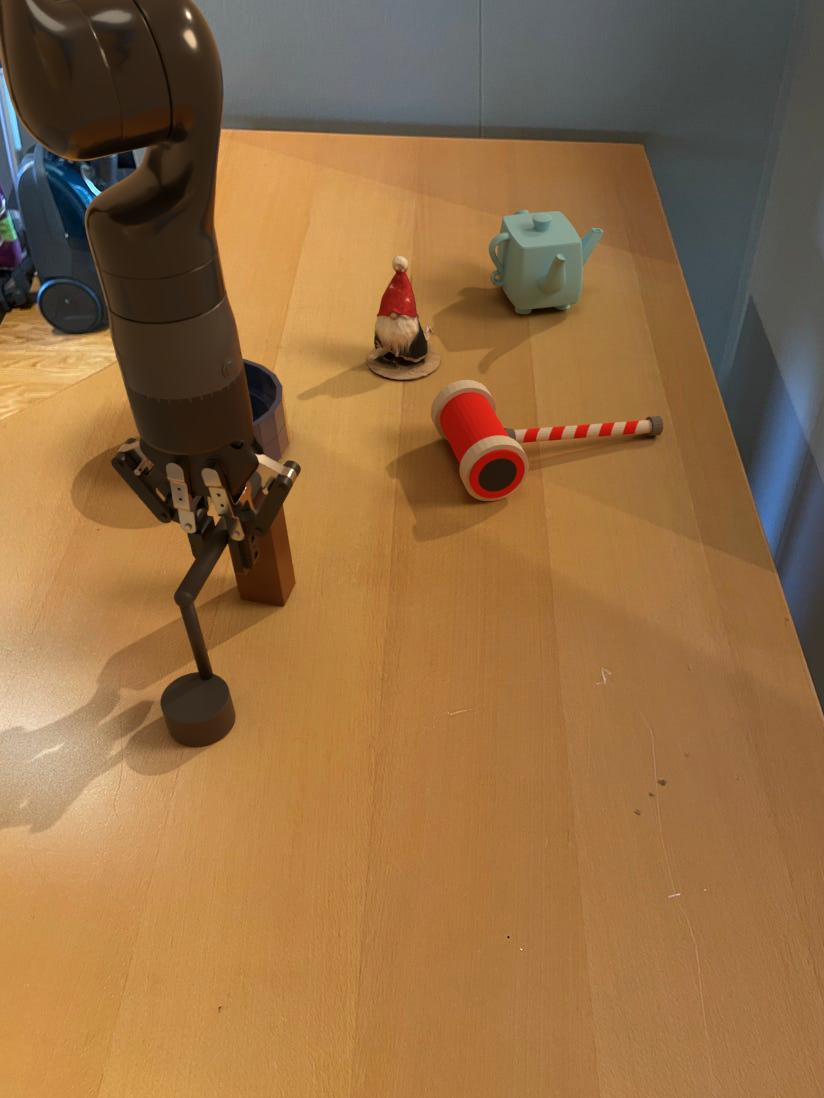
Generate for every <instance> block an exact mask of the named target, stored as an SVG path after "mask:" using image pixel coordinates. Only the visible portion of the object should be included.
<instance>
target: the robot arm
mask: <svg viewBox="0 0 824 1098" xmlns="http://www.w3.org/2000/svg"><path fill="white" fill-rule="evenodd" d="M0 63H1V69H2V73H3V79H4V83H5V87H6V89H7V93H8V96H9V100H10V103H11V105H12V108H13V110H14V113H15V114H16V116H17V119H18V120H19V122H20V124H21V125H22V126H23V128H24V129H25V131H26V132H27V133H28V134H29V135H30V136H31V137H32V138H33V140H35V142H37V144H39V145H40V146H41V147H43V148H44V149H46V150H47V151H48V152H50V153H52V154H53V155H55V156H56V157H59V158H61V159H64V160H67V161H71V162H88V161H94V160H99V159H102V158H107V157H111V156H115V155H120V154H123V153H127V152H128V153H129V152H132V151H135V150H141V149H145V151H144V154H143V158H142V161H141V163H140V164H139V166H138V167H137V168H135V170H134V171H133V172H132V173H130V174H129V175H128V176H126V177H125V178H123V179H122V180H120V181H118V182H116V183H115V184H113V185H111V186H109V187H107V188H106V189H104V190H103V191H102V192H100V193H99V194H97V195H96V196H95V197H94V198H93V199H92V200H91V201H90V202H89V204H88V206H87V208H86V210H85V214H84V227H85V233H86V238H87V242H88V246H89V249H90V252H91V256H92V260H93V263H94V266H95V270H96V274H97V277H98V281H99V284H100V289H101V291H102V296H103V298H104V302H105V305H106V311H107V316H108V326H109V332H110V338H111V341H112V343H111V344H112V346H113V350H114V354H115V358H116V361H117V364H118V367H119V371H120V374H121V378H122V381H123V386H124V388H125V392H126V396H127V400H128V403H129V408H130V407H131V408H130V411H131V410H132V411H131V415H132V414H133V415H132V418H133V417H134V418H133V422H134V421H135V422H134V425H135V424H136V426H135V429H136V428H137V429H136V432H137V431H138V432H137V434H138V433H139V435H140V436H141V437H140V439H137V438H134V437H129V438H127V439H126V441H124V443H123V444H122V445H121V446H120V447H119V449H118V450H117V451H116V453H115V455H114V456H113V457H112V459H111V460H110V464H111V467H112V468H113V469H114V470H115V471H116V473H117V474H118V475H119V476H120V477H121V478H122V480H123V481H124V482H125V483H126V484H127V485H128V486H129V488H130V489H131V490H132V491H133V492H134V493H135V495H136V496H137V497H138V498H139V500H141V502H142V503H143V504H144V505H145V506H146V507H147V509H148V510H149V511H150V512H151V514H152V515H153V516H154V517H155V518H156V519H157V520H158V521H159V522H161V523H163V524H170V523H171V522H175V523H177V524H179V526H180V528H181V529H182V530H183V531H184V532H185V533H186V536H187V539H188V543H189V546H190V549H191V553H192V557H193V558H194V560H195V559H196V557H197V556H198V554H199V552H200V551H201V549H202V547H203V546H204V544H205V542H206V541H207V539H208V537H209V536H210V534H211V532H212V531H213V529H214V528H215V526H216V522H215V518H214V516H213V515H209V514H208V512H209V510H210V505H209V498H211V500H212V502H213V506H214V509H215V511H216V515H217V516H218V517H221V516H222V517H223V520H224V522H225V525H226V528H227V531H228V534H229V536H230V537H229V538H228V542H229V546H230V551H231V555H232V559H233V564H234V568H235V572H236V574H242V575H247V573H248V571H249V569H252V568H253V566H254V565H255V563H256V561H257V559H258V557H259V554H260V550H259V545H258V540H257V537H260V538H262V537H265V536H266V534H267V533H268V531H269V529H270V527H271V525H272V523H273V522H274V520H275V518H276V516H277V514H278V512H279V510H280V509H281V507H282V505H283V506H284V503H285V501H286V499H287V497H288V495H289V494H290V492H291V490H292V488H293V486H294V484H295V483H296V481H297V479H298V477H299V475H300V474H301V471H302V467H301V465H300V464H299V463H298V462H297V461H296V460H295V461H294V460H292V459H291V460H286V461H285V462H284V463H283V464H282V463H280V462H279V461H278V462H276V461H275V460H273V459H271V458H269V457H268V456H266V455H264V448H263V446H262V444H261V443H260V441H259V440H258V439H257V437H256V435H255V433H254V430H253V414H252V408H251V402H250V397H249V391H248V385H247V380H246V374H245V369H244V363H243V359H244V358H243V353H242V347H241V341H240V335H239V330H238V325H237V321H236V317H235V314H234V311H233V308H232V305H231V303H230V302H231V301H230V300H229V295H228V291H227V288H226V287H227V286H226V282H225V277H224V271H223V266H222V259H221V255H220V248H219V243H218V237H217V231H216V226H215V225H216V224H215V221H216V220H215V219H216V217H215V212H216V211H215V210H216V195H217V176H218V162H219V151H220V144H221V137H222V135H221V134H222V126H223V114H224V113H223V112H224V89H225V88H224V87H225V86H224V76H223V68H222V60H221V56H220V52H219V48H218V45H217V42H216V38H215V36H214V33H213V31H212V30H211V27H210V24H209V22H208V21H207V19H206V17H205V16H204V14H203V13H202V11H201V10H200V9H199V7H198V6H197V4H196V3H195V2H194V1H193V0H0ZM255 471H256V472H257V473H258V474H259V475H260V476H261V486H262V488H263V489H262V492H263V493H264V494H266V495H267V496H266V498H265V500H264V502H263V504H262V506H261V508H260V509H254V507H253V503H252V500H251V496H250V494H251V485H250V481H249V479H250V478H251V476H252V475H253V474H254V472H255ZM157 490H158V491H159V493H160V494H161V496H163V497H164V499H163V498H162V497H161V496H160V495H159V494H158V492H157ZM230 551H229V552H230ZM233 564H232V565H233Z"/></svg>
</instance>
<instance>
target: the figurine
mask: <svg viewBox="0 0 824 1098" xmlns="http://www.w3.org/2000/svg"><path fill="white" fill-rule="evenodd" d="M409 263H410V262H409V260H408V259H407V258H405V257H404V256H402V255H395V256H394V257H393V259H392V261H391V264H392V265H391V266H392V269H393V271H394V272H395V274H394V275H393V276H392V278H391V280H390V281H389V283H388V285H387V286H386V289H385V290H384V292H383V294H382V295H381V299H380V303H379V309H378V312H377V314H376V320H375V324H374V335H373V336H374V337H373V345H374V348H373V349H372V351H370V352H369V353H368V356H367V358H366V363H367V366H368V368H369V369H370V370H371V371H372V372H374V373H375V374H378V375H380V376H382V377H385V378H388V379H392V380H393V379H394V380H401V381H402V380H405V381H406V380H407V381H409V380H410V381H412V380H413V381H414V380H416V379H417V380H418V379H421V378H422V377H426V378H427V377H428V375H431V374H432V373H434V372H437V370H438V369H439V366H440V364H441V361H442V359H441V354H440V352H438V350H437V349H435V347H433V346H431V345H430V344H429V343H428V340H429V338H430V336H431V334H432V333H434V330H433V329H432V327H431V326H430V325H427V326H426V327H425V331H424V329H423V327H422V325H421V322H420V320H419V318H420V315H419V313H418V310H417V302H416V297H415V293H414V290H413V286H412V283H411V280H410V278H409V276H408V274H407V271H408V270H409V265H410V264H409ZM390 353H391V354H393V355H394V356H395V357H396V358H399V357H401V358H402V359H404V360H403V361H402V360H401V361H400V362H399V361H396V360H392V359H387V358H386V357H385V355H387V354H390Z"/></svg>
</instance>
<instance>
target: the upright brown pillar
mask: <svg viewBox="0 0 824 1098" xmlns="http://www.w3.org/2000/svg"><path fill="white" fill-rule="evenodd" d="M262 489H263V488H262V486H261V487H260V489H259V491H258V492H257V494H256V496H255V498H254V499H253V501H252V503H253V507H254V509H260V508H261V506H262V504H263V502H264V500H265V498H266V496H267V495H266V494H264V493H263V492H262ZM257 540H258V545H259V550H260V554H259V557H258V559H257V561H256V563H255V565H254V566H253V568H252V569H249V571H248V573H247V575H242V574H236V572H235V568H234V564H233V559H232V555H231V551H230V546H229V543H228V544H227V546H228V551H229V555H230V559H231V563H232V569H233V573H234V577H235V582H236V586H237V590H238V595H239V599H240V600H245V601H251V602H257V603H263V604H268V605H269V604H271V605H274V606H275V605H276V606H280V607H281V606H282V607H285V606H286V605H287V602H288V600H289V597H290V596H291V594H292V591H293V590H294V588H295V585H296V583H297V581H296V576H295V575H296V574H295V569H294V563H293V562H294V561H293V556H292V550H291V544H290V540H289V533H288V527H287V521H286V514H285V508H284V504H283V505H282V507H281V509H280V510H279V512H278V514H277V516H276V518H275V520H274V522H273V523H272V525H271V527H270V529H269V531H268V533H267V534H266V536H265V537H262V538H260V537H257Z"/></svg>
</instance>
